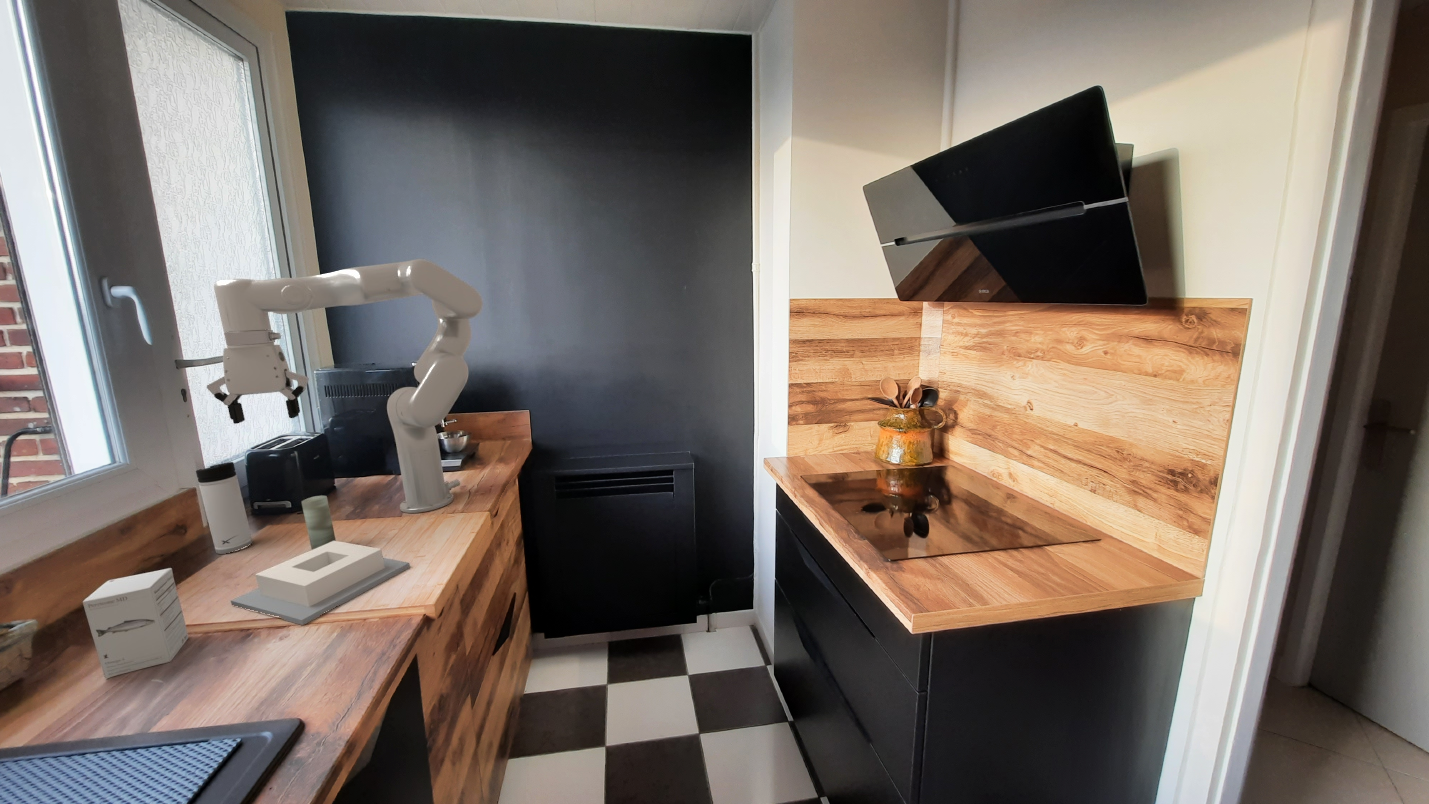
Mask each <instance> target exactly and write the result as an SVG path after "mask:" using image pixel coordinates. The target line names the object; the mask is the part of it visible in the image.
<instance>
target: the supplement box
mask: <svg viewBox="0 0 1429 804" xmlns="http://www.w3.org/2000/svg"><path fill="white" fill-rule="evenodd" d="M176 586H177V585H176V582H175V579H174V573H173V568H171V567H168V568H164V569H160V570H154V571H150V572H145V573H144V572H143V573H139V574H135V575H134V574H133V575H129V576H124V577H118V578H113V579H109V580H107V581H105V582H104V583H103V584H102V585H101V586H98V588H96V590H95V591H94V592H92V593H91V594H89V595H88V597H86V598H84V600H83V601H82V605H83V607H84V611H85V616H86V619H87V622H88V625H89V628H90V633H91V636H92V639H93V643H94V646H95V649H96V652H97V653H96V654H97V656H98V659H99V664H100V666H101V670H102V673H103V677H104V679H106V680H107V679H109V678H112V677H116V676H119V675H123V674H127V673H131V672H134V671H138V670H143V669H147V668H150V667H154V666H158V665H161V664H168V663H171V661H173V659H174V658H175V656H176V655H177V654H178V652H179V651H180V650H181V649H182V647H183V646H184V645H185V644H186V642H187V640H188V639H189V633H188V630H187V625H186V621H185V617H184V612H183V609H182V606H181V602H180V597H179V593H178V590H177V587H176Z"/></svg>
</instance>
